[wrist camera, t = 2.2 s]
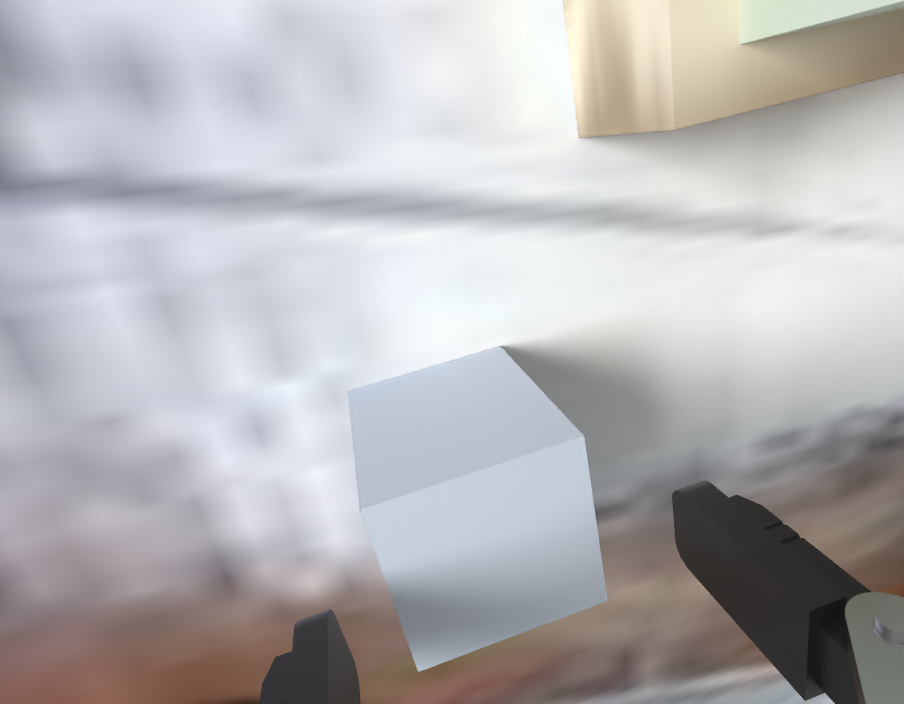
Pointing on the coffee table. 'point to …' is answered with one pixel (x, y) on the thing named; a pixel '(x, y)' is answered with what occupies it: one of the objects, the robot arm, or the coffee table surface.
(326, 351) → the coffee table surface
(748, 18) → the tower top
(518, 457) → the blue block
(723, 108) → the tower base
